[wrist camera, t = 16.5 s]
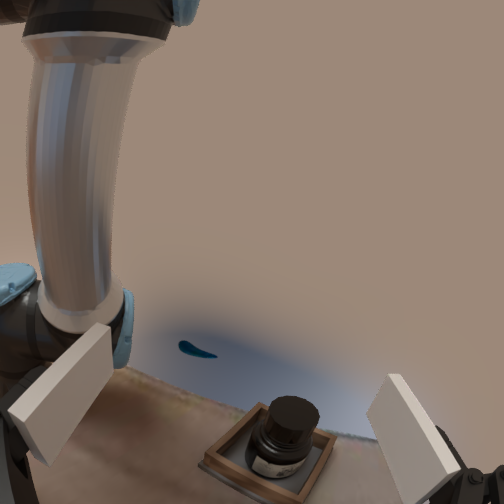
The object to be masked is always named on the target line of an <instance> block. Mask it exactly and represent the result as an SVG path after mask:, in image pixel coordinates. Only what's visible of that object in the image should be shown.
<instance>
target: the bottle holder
mask: <svg viewBox="0 0 504 504" xmlns="http://www.w3.org/2000/svg"><path fill="white" fill-rule="evenodd" d="M268 408H269V407H268V406H266V405H264V404H262V403H260V402H258V404H256V406H254V407H253V408H252V409H251V410H250V411H249V412H248V413H247V414H246V415H245V416H244V417H243V418H242V419H241V420H240V421H239V422H238V423H237V424H236V425H235V426H234V427H233V428H231V429H230V430H229V431H228V432H227V433H226V434H225V435H224V436H223V437H222V438H220V439H219V440H218V441H217V442H216V443H215V444H214V445H213V446H211V447H210V448H209V449H208V450H207V451H206V452H205V455H204V459H203V460H202V461H200V462H199V463H198V467H199V468H201V469H202V470H204V471H205V472H207V473H209V474H210V475H212V476H213V477H215V478H216V479H218V480H220V481H221V482H223V483H225V484H226V485H228V486H230V487H232V488H233V489H235V490H237V491H239V492H240V493H242V494H244V495H246V496H248V497H250V498H252V499H254V500H256V501H258V502H260V503H262V504H303V503H304V501H305V499H306V498H307V496H308V494H309V493H310V491H311V489H312V487H313V486H314V484H315V482H316V480H317V478H318V477H319V475H320V473H321V471H322V469H323V467H324V465H325V463H326V461H327V459H328V457H329V455H330V453H331V451H332V449H333V445H334V443H335V441H336V439H337V436H334V435H332V434H329V433H327V432H324V431H322V430H319V429H317V428H315V430H314V431H313V433H312V438H313V446H312V449H311V451H310V453H309V454H308V456H307V457H306V459H305V461H304V462H303V464H302V465H301V467H300V468H299V469H298V471H297V472H296V473H295V474H293V475H292V476H290V477H288V478H284V479H279V480H271V479H265V478H262V477H260V476H258V475H256V474H255V473H254V472H252V471H251V470H250V468H249V467H248V465H247V463H246V461H245V450H246V447H247V444H248V442H249V439H250V436H251V433H252V430H253V428H254V427H255V425H256V424H257V423H258V422H260V421H261V420H263V419H265V417H266V414H267V411H268Z"/></svg>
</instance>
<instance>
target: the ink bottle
mask: <svg viewBox="0 0 504 504" xmlns="http://www.w3.org/2000/svg"><path fill="white" fill-rule="evenodd" d="M319 418H320V415H319V413H318V409H316V407H315V406H314V405H313V404H312V403H310V402H309V401H307V400H306V399H303V398H300V397H297V396H283V397H278V398H277V399H275V400H274V401H272V403H271V405H270V406H269V408H268V411H267V414H266V417H265V419H263V420H261V421H260V422H258V423H257V424H256V425H255V427H254V428H253V430H252V433H251V436H250V439H249V442H248V444H247V447H246V450H245V461H246V463H247V465H248V467H249V468H250V470H251V471H252V472H254V473H255V474H256V475H258V476H260V477H262V478H265V479H271V480H279V479H284V478H288V477H290V476H292V475H293V474H295V473H296V472H297V471H298V469H299V468H300V467H301V465H302V464H303V462H304V461H305V459H306V457H307V456H308V454H309V453H310V451H311V449H312V446H313V438H312V433H313V431H314V430H315V428H316V426H317V424H318V421H319Z"/></svg>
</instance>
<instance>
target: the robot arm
mask: <svg viewBox="0 0 504 504" xmlns="http://www.w3.org/2000/svg"><path fill="white" fill-rule="evenodd" d="M199 1H200V0H0V25H8V24H14V23H23V22H26V25H25V29H24V33H23V37H22V40H21V42H22V43H23V45H24V46H25V47H26V48H27V50H28V51H29V52H30V53H31V55H32V56H33V59H34V62H35V63H34V69H33V75H32V80H31V87H30V96H29V104H28V116H27V137H26V138H27V139H26V165H27V184H28V197H29V206H30V215H31V223H32V229H33V235H34V241H35V246H36V251H37V256H38V261H39V265H40V270H41V274H42V278H43V279H42V281H41V280H37V279H36V278H37V273H36V272H35V269H34V268H33V267H32V266H30V265H29V264H25V263H10V264H4V265H0V504H39V501H38V498H37V495H36V491H35V488H34V484H33V480H32V476H31V472H30V467H29V462H28V458H27V455H26V453H27V452H28V450H30V451H31V453H32V455H33V456H34V458H36V459H37V460H39V461H41V462H42V463H44V464H45V465H47V466H49V467H51V466H52V464H53V462H54V461H55V459H56V458H57V456H58V454H59V453H60V451H61V450H62V448H63V447H64V445H65V444H66V442H67V440H68V439H69V437H70V436H71V434H72V433H73V431H74V430H75V428H76V427H77V425H78V424H79V422H80V421H81V419H82V418H83V416H84V415H85V413H86V412H87V410H88V409H89V408H90V406H91V405H92V403H93V402H94V400H95V399H96V397H97V396H98V395H99V393H100V392H101V390H102V389H103V387H104V386H105V385H106V383H107V382H108V380H109V379H110V378H111V376H112V375H113V373H114V369H121V368H123V367H125V366H126V365H127V363H128V361H129V357H130V352H131V344H132V340H131V337H132V333H133V322H134V296H133V293H132V292H131V291H129V290H126V289H124V288H122V283H121V281H120V279H119V278H118V276H117V275H116V274H115V272H114V271H113V270H112V269H111V241H112V240H111V239H112V217H113V203H114V190H115V181H116V173H117V164H118V157H119V150H120V143H121V137H122V132H123V127H124V121H125V116H126V111H127V106H128V102H129V98H130V93H131V89H132V85H133V81H134V77H135V74H136V70H137V67H138V65H139V63H140V61H141V60H142V59H143V58H144V57H146V56H147V55H149V54H151V53H152V52H154V51H155V50H157V49H158V48H160V47H162V46H163V45H164V44H165V41H166V39H167V36H168V34H169V31H170V28H171V26H172V25H175V26H178V27H181V26H188V25H190V24H191V23H192V22H193V20H194V17H195V15H196V12H197V8H198V5H199ZM51 362H54V363H53V364H52V363H51ZM366 415H367V417H368V419H369V421H370V424H371V426H372V428H373V430H374V433H375V435H376V438H377V440H378V442H379V445H380V447H381V450H382V452H383V454H384V457H385V459H386V462H387V464H388V467H389V469H390V472H391V474H392V477H393V479H394V482H395V484H396V487H397V489H398V492H399V494H400V497H401V500H402V502H403V504H423V503H424V502H425V501H426V500H428V499H429V501H430V503H429V504H488V503H489V502H490V501H491V504H504V465H500V466H499V467H498V468H497V469H496V470H495V471H494V472H493V473H489V474H483V473H482V472H481V471H480V470H478V469H476V468H470V469H468V468H467V467H466V465H465V464H464V462H463V460H462V459H461V457H460V456H459V454H458V452H457V451H456V449H455V448H454V447H453V445H452V443H451V441H449V438H448V437H447V435H446V434H445V432H444V431H443V430H442V429H440V428H439V427H438V426H434V424H433V423H432V421H431V420H430V418H429V416H428V415H427V414H426V412H425V410H424V409H423V408H422V406H421V404H420V403H419V401H418V400H417V398H416V397H415V395H414V394H413V393H412V391H411V390H410V388H409V387H408V385H407V384H406V382H405V381H404V379H403V378H402V377H401V375H400V374H388V375H387V376H386V379H385V380H384V382H383V384H382V386H381V388H380V390H379V392H378V394H377V395H376V397H375V399H374V401H373V402H372V404H371V406H370V407H369V409H368V411H367V413H366Z"/></svg>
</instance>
